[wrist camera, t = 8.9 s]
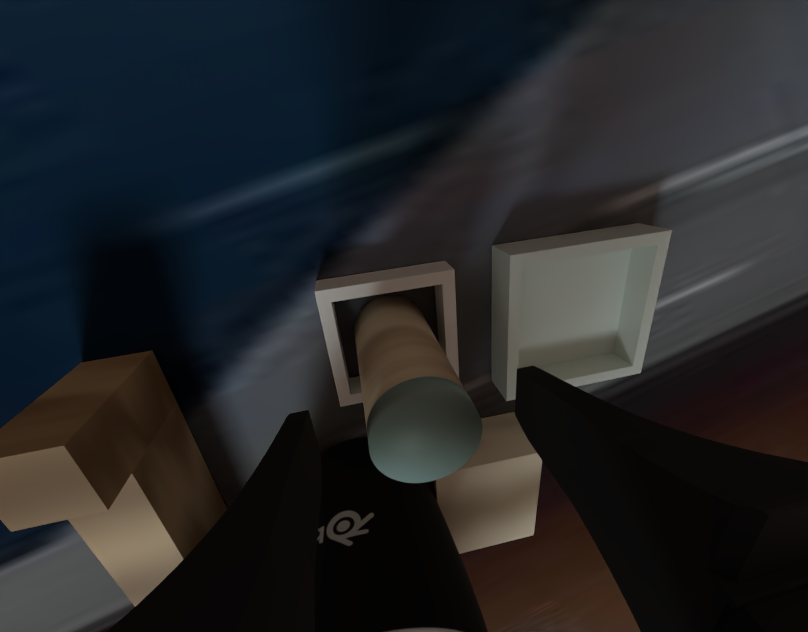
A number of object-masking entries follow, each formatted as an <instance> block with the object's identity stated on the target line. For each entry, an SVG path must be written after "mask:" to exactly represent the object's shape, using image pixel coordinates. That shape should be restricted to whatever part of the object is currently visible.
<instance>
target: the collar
mask: <svg viewBox="0 0 808 632" xmlns="http://www.w3.org/2000/svg"><path fill="white" fill-rule="evenodd" d="M428 286H435V300H436V314H437V329H438V343H439V344H440V346H441V348H442V350H443V351H444V353H445V355H446V357H447V358H448V360H449V362H450V364H451V365H452V367H453V369H454V371H455V372H456V374H457V376H458V378H459V362H458V339H457V316H456V293H455V270H454V269H453V268H452V267H451V266H450V265H449V264H448V263H447V262H446V261H439V262H433V263H426V264H420V265H413V266H407V267H401V268H394V269H388V270H381V271H375V272H368V273H362V274H355V275H349V276H343V277H336V278H330V279H323V280H317V281H316V284H315V291H314V292H315V296H316V301H317V305H318V310H319V314H320V319H321V323H322V327H323V332H324V336H325V341H326V345H327V350H328V354H329V358H330V363H331V367H332V372H333V376H334V381H335V385H336V389H337V394H338V398H339V403H340V407H343V406H348V405H353V404H358V403H363V398H362V390H361V382H360V376H357V377H352V378H349V375H348V370H347V365H346V360H345V355H344V350H343V345H342V341H341V336H340V331H339V326H338V321H337V316H336V311H335V306H334V302H336V301H342V300H348V299H354V298H361V297H367V296H373V295H379V294H385V293H391V292H397V291H403V290H409V289H416V288H422V287H428Z"/></svg>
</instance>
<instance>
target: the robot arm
mask: <svg viewBox="0 0 808 632" xmlns="http://www.w3.org/2000/svg"><path fill="white" fill-rule="evenodd" d="M515 416H516V418H517V420H518V422H519V424H520V426H521V428H522V430H523V431H524V433H525V435H526V437H527V439H528V441H529V442H530V443H531V445H532V446H533V448H534V449H535V451H536V452H537V454H538V455H539V457H540V458H541V459H542V461H543V462H544V464H545V465H546V466H547V468H548V469H549V471H550V472H551V474H552V475H553V476H554V478H555V479H556V481H557V482H558V483H559V485H560V486H561V488H562V489H563V490H564V492H565V493H566V495H567V496H568V498H569V499H570V501H571V502H572V504H573V505H574V507H575V508H576V510H577V512H578V513H579V515H580V517H581V519H582V520H583V522H584V524H585V526H586V527H587V529H588V531H589V533H590V534H591V536H592V538H593V540H594V541H595V543H596V545H597V547H598V549H599V551H600V553H601V554H602V556H603V558H604V560H605V562H606V564H607V565H608V567H609V569H610V571H611V573H612V575H613V577H614V579H615V581H616V583H617V584H618V586H619V588H620V590H621V592H622V594H623V596H624V598H625V600H626V602H627V604H628V606H629V608H630V610H631V612H632V614H633V616H634V618H635V620H636V622H637V624H638V626H639V628H640V630H641V632H808V462H804V461H799V460H794V459H789V458H784V457H779V456H774V455H769V454H764V453H759V452H755V451H751V450H747V449H743V448H739V447H735V446H731V445H727V444H723V443H719V442H716V441H712V440H708V439H705V438H701V437H698V436H695V435H692V434H689V433H685V432H682V431H679V430H676V429H673V428H670V427H667V426H664V425H661V424H659V423H656V422H653V421H651V420H648V419H645V418H643V417H640V416H637V415H635V414H632V413H630V412H628V411H625V410H623V409H621V408H619V407H616V406H614V405H612V404H610V403H607V402H605V401H603V400H601V399H599V398H597V397H595V396H593V395H591V394H589V393H586V392H584V391H583V390H581V389H579V388H577V387H575V386H573V385H571V384H569V383H567V382H565V381H563V380H561V379H559V378H557V377H555V376H554V375H552V374H550V373H548V372H546V371H544V370H542V369H540V368H538V367H535V366H528V367H523V368H518V369H517V376H516V400H515ZM321 492H322V468H321V454H320V451H319V447H318V443H317V440H316V436H315V432H314V429H313V425H312V422H311V418H310V414H309V411H308V410H307V411H302V412H297V413H292V414H289V415H288V416H287V418H286V419H285V421H284V423H283V425H282V427H281V428H280V430H279V432H278V434H277V435H276V437H275V439H274V441H273V442H272V444H271V446H270V447H269V449H268V451H267V452H266V454H265V455H264V457H263V459H262V460H261V462H260V463H259V465H258V467H257V468H256V470H255V471H254V473H253V474H252V476H251V477H250V478H249V480H248V481H247V483H246V484H245V486H244V487H243V488H242V490H241V491H240V493H239V494H238V496H237V497H236V498H235V500H234V501H233V502H232V504H231V505H230V506H229V507H228V509H227V510H226V511H225V513H224V514H223V515H222V516H221V517H220V519H219V520H218V521H217V522H216V524H215V525H214V526H213V527H212V528H211V530H210V531H209V532H208V533H207V534H206V535H205V536H204V538H203V539H202V540H201V541H200V542H199V543H198V544H197V545H196V546H195V547H194V549H193V550H192V551H191V552H190V553H189V554H188V555H187V556H186V557H185V558H184V559H183V561H182V562H181V563H180V564H179V565H178V566H177V567H176V568H175V569H174V570H173V571H172V572H171V573H170V574H169V575H168V576H167V577H166V578H165V579H164V580H163V581H162V582H161V583H160V584H159V585H158V586H157V587H156V588H155V589H154V590H152V591H151V592H150V593H149V594H148V595H147V596H146V597H145V598H144V599H143V600H142V601H141V602H140V603H139V604H138V605H137V606H136V607H134V608H133V609H132V610H131V611H130V612H129V613H128V614H127V615H126V616H124V617H123V618H122V619H121V620H120V621H119V622H118V623H117V624H115V625H114V626H113V627H112V628H111V629H110V630H109V631H107V632H315V560H316V549H317V538H318V527H319V516H320V504H321Z"/></svg>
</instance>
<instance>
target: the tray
mask: <svg viewBox="0 0 808 632" xmlns="http://www.w3.org/2000/svg"><path fill="white" fill-rule="evenodd" d="M671 232H672V230H669V229H664V228H660V227H655V226H650V225H646V224H641V223H635V224H629V225H622V226H616V227H609V228H602V229H596V230H589V231H583V232H576V233H570V234H563V235H556V236H550V237H543V238H537V239H530V240H524V241H517V242H511V243H504V244H497V245H492V328H491V380H492V382H493V383H494V385H495V386H496V387H497V389H498V390H499V392H500V393H501V394H502V396H503V397H504V399H505V400H506V401H510V400H515V399H516V376H517V369H518V368H523V367H528V366H535V367H538V368H540V369H542V370H544V371H546V372H548V373H550V374H552V375H554V376H555V377H557V378H559V379H561V380H563V381H565V382H567V383H569V384H571V385H573V386H575V387H577V386H581V385H586V384H591V383H596V382H600V381H605V380H610V379H615V378H619V377H624V376H629V375H634V374H638V373H641V369H642V365H643V360H644V356H645V351H646V346H647V342H648V337H649V333H650V328H651V324H652V319H653V314H654V310H655V305H656V301H657V296H658V292H659V287H660V283H661V278H662V273H663V269H664V264H665V260H666V255H667V251H668V246H669V241H670V237H671Z"/></svg>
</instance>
